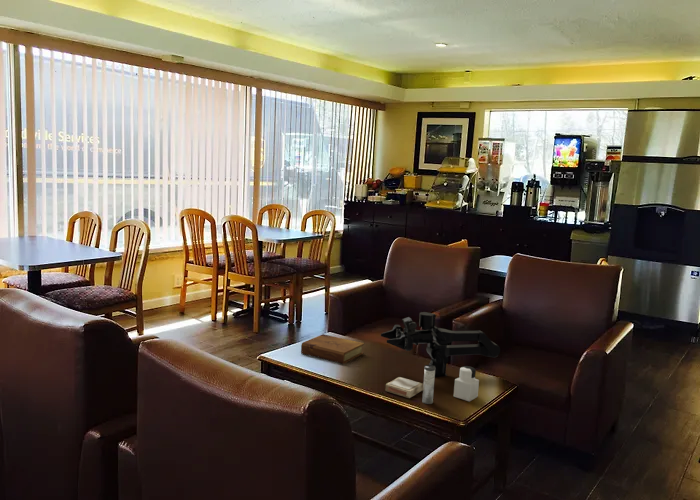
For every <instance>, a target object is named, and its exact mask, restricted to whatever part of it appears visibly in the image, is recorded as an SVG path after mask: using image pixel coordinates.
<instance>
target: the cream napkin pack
mask: <svg viewBox="0 0 700 500" xmlns="http://www.w3.org/2000/svg"><path fill="white" fill-rule="evenodd" d="M423 384H424V382H419V381H415V380H412V379H408V378H405V377H401V376H398V377H396V378H395V379H393V380H391V381H390V382H387V383H386V384H385V390H384V392H388V393H391V394H394V395H397V396H401V397H404V398H407V399H411V398H412V397H414V396H416V395H417V394H419V393H420V392H423Z"/></svg>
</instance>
